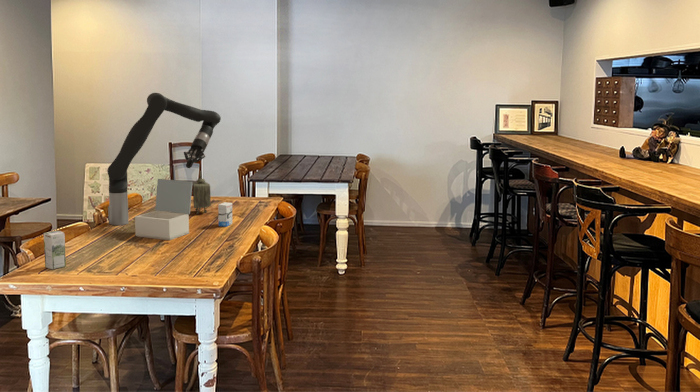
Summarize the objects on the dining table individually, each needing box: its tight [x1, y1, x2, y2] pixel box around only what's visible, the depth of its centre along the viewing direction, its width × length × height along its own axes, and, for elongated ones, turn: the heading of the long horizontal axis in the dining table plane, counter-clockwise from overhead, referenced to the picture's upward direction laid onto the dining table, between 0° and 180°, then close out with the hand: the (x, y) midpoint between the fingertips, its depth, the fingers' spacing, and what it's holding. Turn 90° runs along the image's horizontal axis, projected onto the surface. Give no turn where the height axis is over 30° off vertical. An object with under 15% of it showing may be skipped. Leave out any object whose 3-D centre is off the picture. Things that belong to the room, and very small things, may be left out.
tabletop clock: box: [192, 170, 212, 215], centre depth 361 cm, size 14×9×25 cm, turn 17°
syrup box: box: [43, 230, 67, 270], centre depth 247 cm, size 6×6×14 cm
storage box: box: [134, 210, 190, 241], centre depth 305 cm, size 20×16×10 cm
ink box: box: [217, 201, 233, 228], centre depth 331 cm, size 8×5×12 cm, turn 168°
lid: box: [154, 178, 193, 215], centre depth 312 cm, size 21×16×1 cm
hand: (187, 167), depth 322 cm, fingers closed
